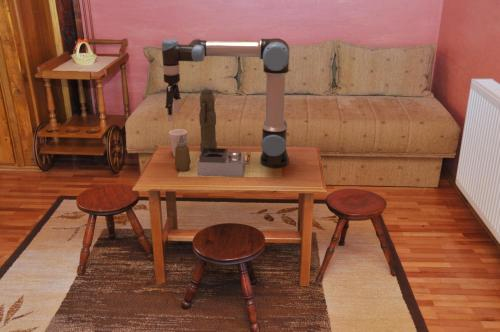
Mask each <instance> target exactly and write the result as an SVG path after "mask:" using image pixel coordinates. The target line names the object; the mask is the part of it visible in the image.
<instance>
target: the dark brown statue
mask: <svg viewBox="0 0 500 332" xmlns="http://www.w3.org/2000/svg"><path fill="white" fill-rule="evenodd" d="M199 108H200V109H199V110H200V111H199V114H198V118H199V120H198V121H199V126H200V145H199V146H200V153H201V152H202V150H203V148H218V145H217V144H218V142H217V138H216V137H217V136H216V135H217V133H216V125H217V113H216V110H215V96H214V93H213V91H212V90H203V91H201V92H200V96H199Z"/></svg>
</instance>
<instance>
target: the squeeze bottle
mask: <svg viewBox="0 0 500 332" xmlns="http://www.w3.org/2000/svg"><path fill="white" fill-rule="evenodd" d="M187 144H188V143H187V141H186V142H185V141H184V139H183V136H182V135H181V136H180V140H179V142H177V147H176V148H175V156H174V165H175V167H176V169H177V170H178V171H179V172H186V171H188V170H189V169H190V166H191V162H192V161H191V156H190V150H189V146H188V145H187Z"/></svg>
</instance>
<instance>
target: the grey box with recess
mask: <svg viewBox="0 0 500 332" xmlns="http://www.w3.org/2000/svg"><path fill="white" fill-rule="evenodd" d="M245 168H246V153H245V152H242V151H241V150H237V149H232V150H229V148H224V147H222V148H221V147H217V148H203V150H202V152H201V151H200V153H199V157H198V161H197V175H198V176H211V177H212V176H213V177H232V178H233V177H237V178H238V177H239V178H242V177H243V176H244V172H245Z"/></svg>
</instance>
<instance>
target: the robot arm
mask: <svg viewBox="0 0 500 332" xmlns="http://www.w3.org/2000/svg"><path fill="white" fill-rule="evenodd" d="M161 55H162V66H161V68H162V69H163V82H164V83H166V84H168V85H167V86H166V98H165V109H166V112H167V121H168V122H174V121H175V117H174V116H175V114H174V113H180V112H181V111H180V100H181V99H182V98H181V94H180V90H179V83H180V81H181V76H180V71H181V70H180V62H191V63H192V62H195V63H197V62H203V61H205V57H228V58H229V57H230V58H231V57H235V58H236V57H238V58H240V57H241V58H243V57H244V58H245V57H246V58H259V59H260V60H262V62H263V70H262V71H263V73H264V74H265V75H266V80H265V81H266V84H265V85H266V88H265V90H266V91H265V94H266V95H265V96H266V97H265V120H264V122H263V125H262V129H261V131H262V134H261V135H262V139H261V140H262V141H261V144H260V145H261V149H262V151H261V155H260V156H259V157H260V159H259V163H260V165H262V166H264V167H267V168H283V167H286V166H287V165H289V163H290V158H289V153H288V150H287V130H288V129H287V127H288V125H287V121H286V120H284V119H285V118H284V117H285V93H286V92H285V91H286V90H285V86H286V75H287V74H288V73H289V70H290V69H289V68H290V67H289V65H290V64H289V63H290V47H289V44H288V43H287V42H286V41H285V40H284V39H281V38H279V37H278V38H260V39H259V40H213V39H212V40H209V39H208V40H205V39H200V38H195V39H193V40H192V41H190V43H188V44H179V41H178V40H177V39H164V40H163V41H161Z"/></svg>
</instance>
